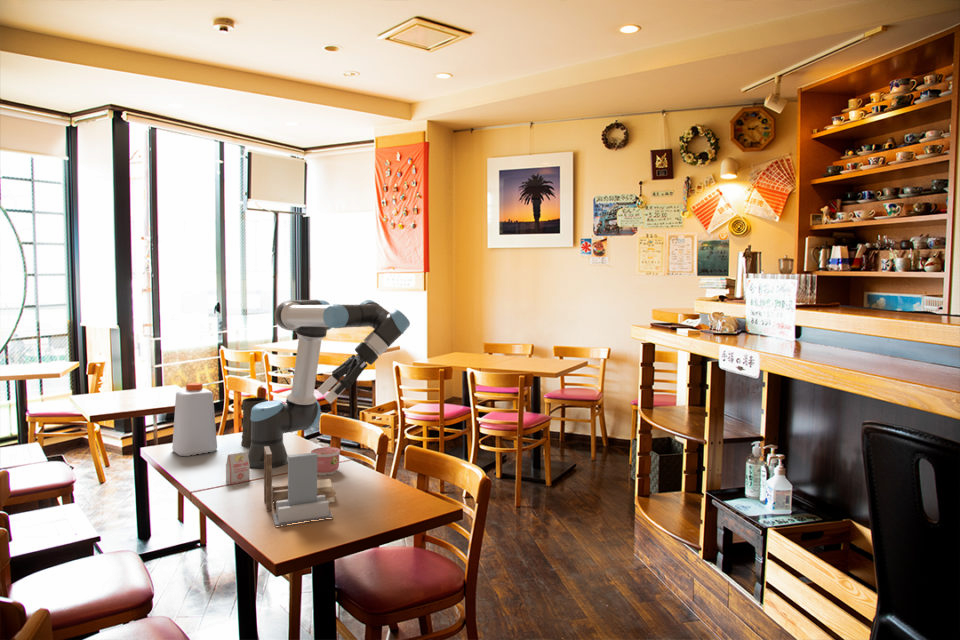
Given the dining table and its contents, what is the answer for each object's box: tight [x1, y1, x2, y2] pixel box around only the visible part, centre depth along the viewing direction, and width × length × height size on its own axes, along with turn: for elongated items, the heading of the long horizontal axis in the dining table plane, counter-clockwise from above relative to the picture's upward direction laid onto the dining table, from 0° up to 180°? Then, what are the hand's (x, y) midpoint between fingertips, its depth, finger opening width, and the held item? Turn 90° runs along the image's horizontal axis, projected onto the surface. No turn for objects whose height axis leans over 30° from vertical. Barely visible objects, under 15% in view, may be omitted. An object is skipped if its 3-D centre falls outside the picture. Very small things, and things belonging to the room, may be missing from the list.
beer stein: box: [240, 397, 267, 448], centre depth 250 cm, size 15×11×20 cm
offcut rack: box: [263, 446, 336, 511], centre depth 184 cm, size 21×10×18 cm, turn 115°
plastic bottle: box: [171, 382, 218, 457], centre depth 239 cm, size 15×15×28 cm
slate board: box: [287, 452, 318, 506], centre depth 171 cm, size 8×2×18 cm, turn 115°
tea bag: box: [225, 451, 251, 485], centre depth 203 cm, size 4×7×10 cm, turn 133°
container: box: [310, 446, 341, 476], centre depth 215 cm, size 10×10×8 cm
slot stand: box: [271, 495, 334, 527], centre depth 171 cm, size 16×9×5 cm, turn 115°
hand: (323, 396), depth 185 cm, fingers open, 13 cm apart
